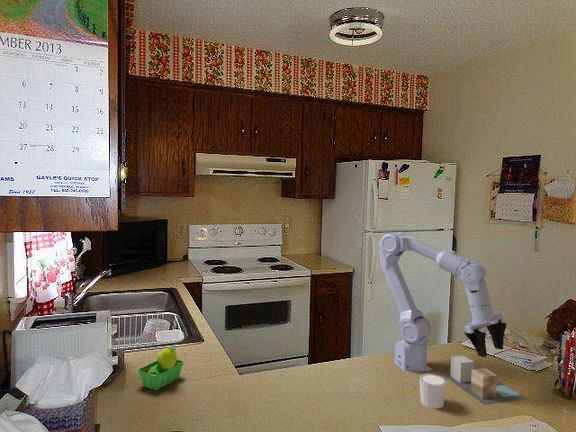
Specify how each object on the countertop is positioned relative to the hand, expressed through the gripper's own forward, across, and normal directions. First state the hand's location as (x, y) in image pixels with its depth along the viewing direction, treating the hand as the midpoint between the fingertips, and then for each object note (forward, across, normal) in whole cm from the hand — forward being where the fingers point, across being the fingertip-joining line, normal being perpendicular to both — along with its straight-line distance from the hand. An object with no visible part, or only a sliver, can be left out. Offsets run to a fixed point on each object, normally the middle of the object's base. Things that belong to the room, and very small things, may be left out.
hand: (491, 352), depth 112 cm
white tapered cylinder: (+9, -22, +5) cm, 24 cm away
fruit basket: (-8, -82, +47) cm, 95 cm away
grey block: (+8, -3, +10) cm, 13 cm away
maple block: (+10, -5, +2) cm, 11 cm away
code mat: (+10, -1, +5) cm, 12 cm away
